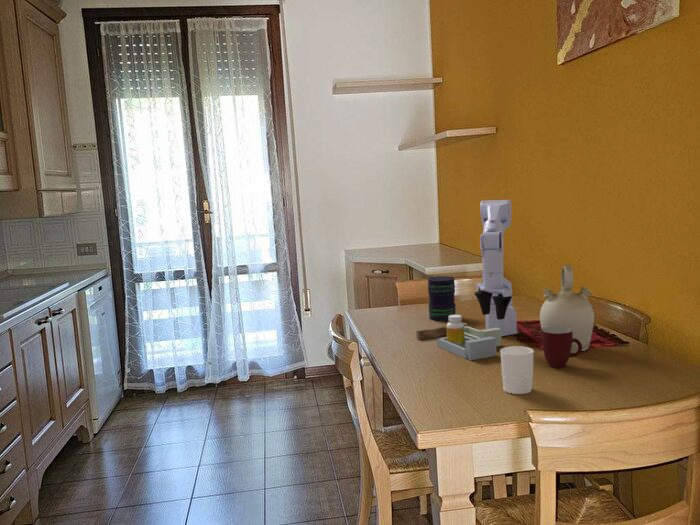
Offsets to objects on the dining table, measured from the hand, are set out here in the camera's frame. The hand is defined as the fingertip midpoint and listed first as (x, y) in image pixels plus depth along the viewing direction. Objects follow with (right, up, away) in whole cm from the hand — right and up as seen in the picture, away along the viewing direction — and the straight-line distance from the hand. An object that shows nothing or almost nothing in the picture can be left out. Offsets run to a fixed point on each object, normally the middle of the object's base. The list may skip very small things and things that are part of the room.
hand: (493, 316), depth 198 cm
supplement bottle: (-10, -10, +5) cm, 15 cm away
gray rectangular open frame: (-8, -10, +1) cm, 13 cm away
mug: (+15, -12, -19) cm, 27 cm away
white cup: (-2, -15, -36) cm, 39 cm away
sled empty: (-3, -9, +12) cm, 15 cm away
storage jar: (-9, -5, +45) cm, 46 cm away
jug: (+21, -9, -2) cm, 23 cm away
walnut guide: (-8, -9, +11) cm, 16 cm away
